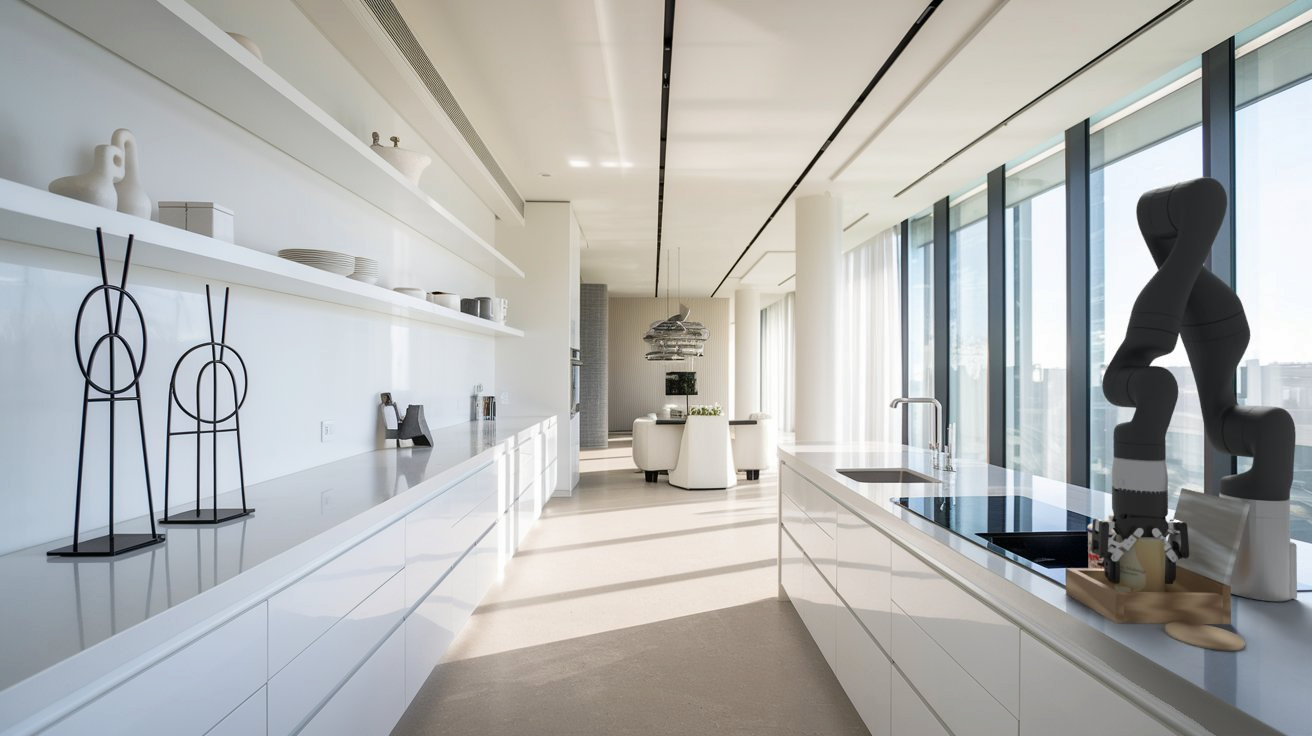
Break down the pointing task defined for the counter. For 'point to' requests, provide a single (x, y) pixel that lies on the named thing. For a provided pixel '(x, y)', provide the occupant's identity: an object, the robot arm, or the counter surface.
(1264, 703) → the counter surface
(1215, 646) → the cork mat
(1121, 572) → the skincare box
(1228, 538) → the cold frame
